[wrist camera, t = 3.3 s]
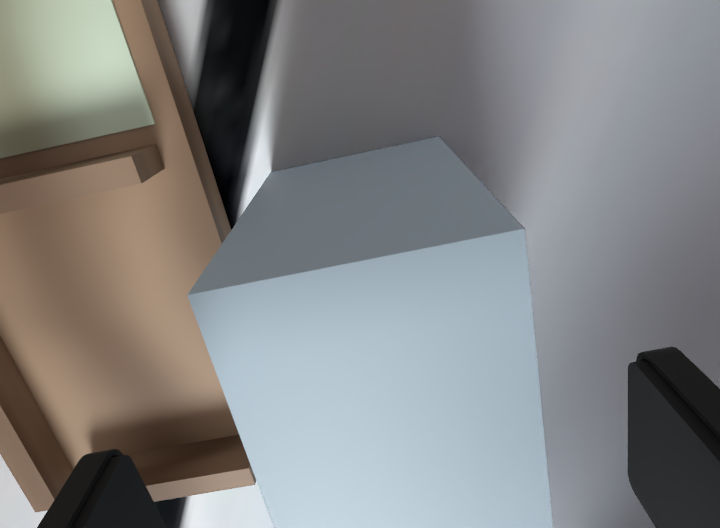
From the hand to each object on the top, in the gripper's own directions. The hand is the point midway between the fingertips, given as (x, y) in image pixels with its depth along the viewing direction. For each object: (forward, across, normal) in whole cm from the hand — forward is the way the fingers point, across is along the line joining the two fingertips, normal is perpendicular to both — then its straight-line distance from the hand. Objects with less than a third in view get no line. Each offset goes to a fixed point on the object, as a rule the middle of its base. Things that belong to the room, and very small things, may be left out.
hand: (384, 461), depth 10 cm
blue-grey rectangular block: (+11, 0, +1) cm, 11 cm away
